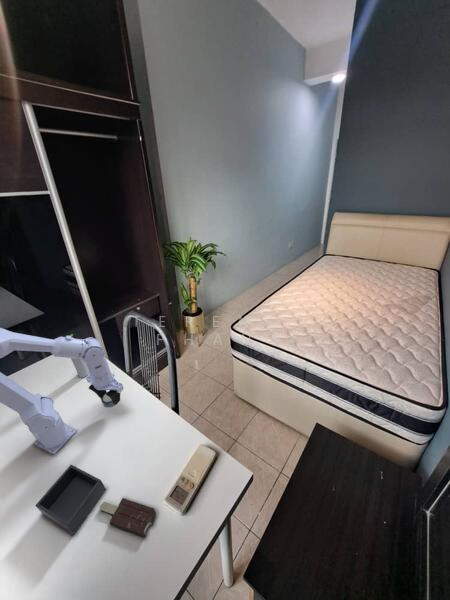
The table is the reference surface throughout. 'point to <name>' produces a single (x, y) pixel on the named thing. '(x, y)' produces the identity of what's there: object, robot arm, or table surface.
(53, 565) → the table surface
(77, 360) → the bottle
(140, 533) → the ice cream bar
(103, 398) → the rice dish
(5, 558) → the table surface
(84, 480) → the tub
